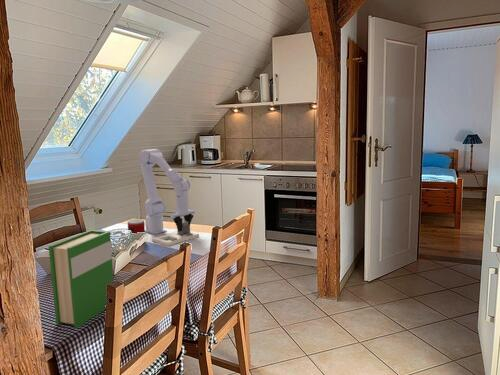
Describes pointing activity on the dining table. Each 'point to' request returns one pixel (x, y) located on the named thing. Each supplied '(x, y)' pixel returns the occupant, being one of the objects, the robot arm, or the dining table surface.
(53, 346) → the dining table surface
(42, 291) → the dining table surface
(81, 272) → the hardback book
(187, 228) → the plug
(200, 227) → the dining table surface
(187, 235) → the socket plate
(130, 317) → the dining table surface
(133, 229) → the canned food
